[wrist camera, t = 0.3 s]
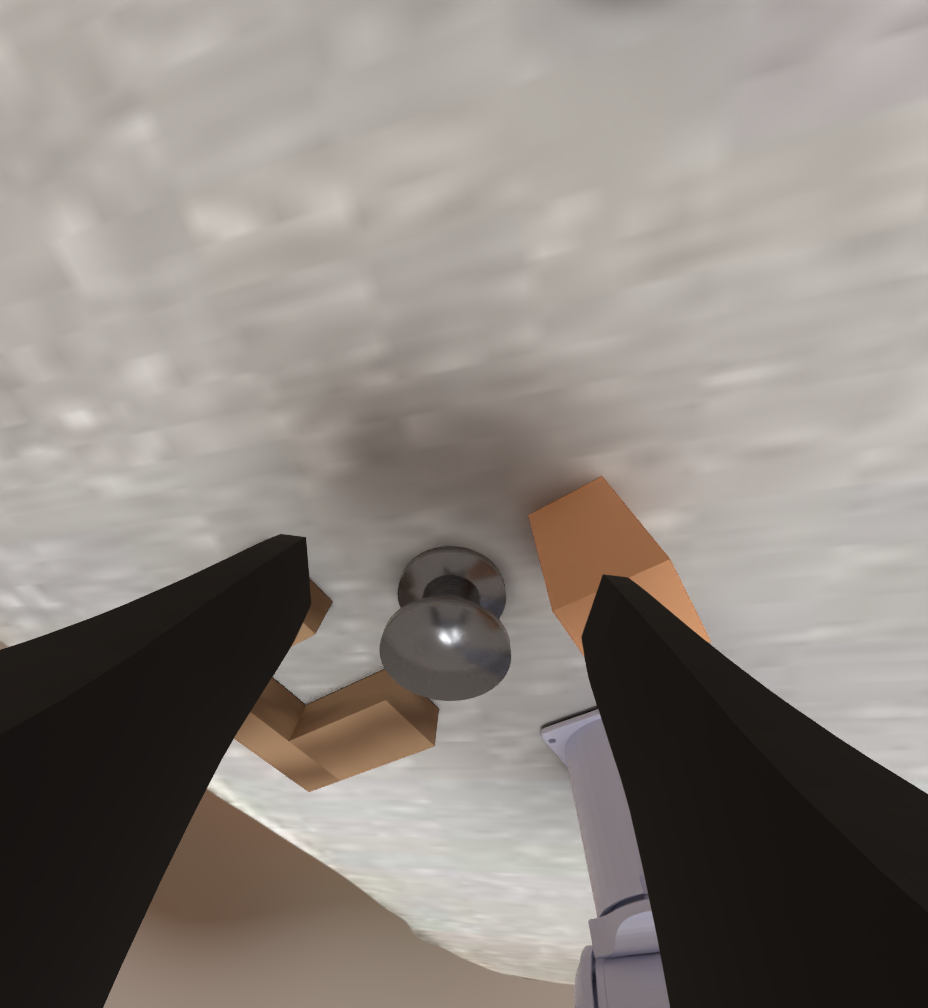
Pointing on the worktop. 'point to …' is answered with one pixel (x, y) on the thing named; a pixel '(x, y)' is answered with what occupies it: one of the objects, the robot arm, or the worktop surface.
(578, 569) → the brown block
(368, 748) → the notched board
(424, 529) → the worktop surface
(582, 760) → the robot arm
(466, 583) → the doorknob
